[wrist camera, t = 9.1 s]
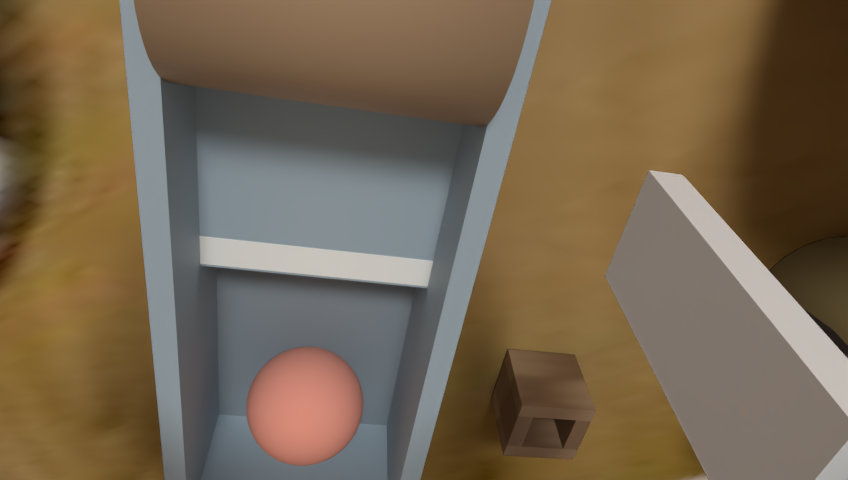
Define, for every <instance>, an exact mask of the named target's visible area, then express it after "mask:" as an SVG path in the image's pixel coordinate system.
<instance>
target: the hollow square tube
mask: <svg viewBox="0 0 848 480" xmlns="http://www.w3.org/2000/svg"><path fill="white" fill-rule="evenodd" d="M492 402H493V407H494V412H495V417H496V422H497V427H498V432H499V437H500V441H501V446H502V451H503V455H506V456H522V457H539V458H556V459H573V458H574V456H575V454H576V451H577V449H578V447H579V445H580V443H581V441H582V439H583V437H584V435H585V433H586V431H587V429H588V426H589V424H590V422H591V420H592V418H593V416H594V414H595V412H596V410H595V407H594V404H593V402H592V399H591V396H590V394H589V391H588V389H587V386H586V383H585V381H584V378H583V375H582V373H581V370H580V368H579V365H578V362H577V360H576V357H575V355H571V354H560V353H548V352H537V351H525V350H514V349H508V350H507V353H506V356H505V359H504V362H503V365H502V368H501V371H500V374H499V377H498V380H497V383H496V386H495V389H494V392H493V395H492Z"/></svg>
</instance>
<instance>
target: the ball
mask: <svg viewBox="0 0 848 480" xmlns="http://www.w3.org/2000/svg"><path fill="white" fill-rule="evenodd" d="M246 413H247V421H248V425H249V428H250V431H251V433H252V435H253V437H254V439H255V441H256V442H257V444H258V445H259V446H260V447H261V448H262V449H263V450H264V451H265V452H266V453H267V454H268V455H270V456H271V457H273V458H275V459H276V460H278V461H281V462H283V463H286V464H290V465H297V466H306V465H313V464H317V463H321V462H323V461H326V460H328V459H330V458H332V457H334V456H335V455H336V454H338V453H339V452H340V451H342V450H343V449H344V448H345V447H346V446H347V444H348V443H349V442H350V441H351V440H352V438H353V437H354V435H355V433H356V431H357V429H358V427H359V425H360V421H361V418H362V414H363V393H362V389H361V385H360V382H359V380H358V377H357V376H356V374H355V372H354V371H353V369H352V368H351V367H350V365H349V364H348V363H347V362H346V361H345V360H343V359H342V358H341V357H340V356H338V355H337V354H335V353H333V352H331V351H328V350H326V349H322V348H318V347H298V348H293V349H289V350H286V351H284V352H282V353H280V354H278V355H277V356H275V357H273V358H272V359H271V360H269V361H268V362H267V363H266V364H265V365H264V366H263V367H262V368H261V369H260V371H259V372H258V374H257V375H256V377H255V378H254V380H253V382H252V384H251V387H250V390H249V393H248V397H247V404H246Z"/></svg>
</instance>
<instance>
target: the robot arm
mask: <svg viewBox="0 0 848 480" xmlns="http://www.w3.org/2000/svg"><path fill="white" fill-rule="evenodd" d="M605 277H606V279H607V281H608V283H609V285H610V287H611V289H612V291H613V293H614V295H615V297H616V299H617V301H618V303H619V305H620V307H621V309H622V311H623V313H624V315H625V317H626V319H627V321H628V323H629V324H630V326H631V328H632V330H633V332H634V334H635V336H636V338H637V340H638V342H639V344H640V346H641V348H642V350H643V352H644V354H645V356H646V358H647V360H648V362H649V364H650V366H651V368H652V370H653V372H654V374H655V376H656V378H657V380H658V382H659V383H660V385H661V387H662V389H663V391H664V393H665V395H666V397H667V399H668V401H669V403H670V405H671V407H672V409H673V411H674V413H675V415H676V417H677V419H678V421H679V423H680V425H681V427H682V429H683V431H684V433H685V435H686V437H687V439H688V440H689V442H690V444H691V446H692V448H693V450H694V452H695V454H696V456H697V458H698V460H699V462H700V464H701V466H702V468H703V470H704V472H705V474H706V476H707V478H708V480H848V345H847V344H846V343H845V342H844V341H843V340H842V339H841V338H840V337H839V335H838V334H837V333H836V332H835V331H834V330H833V329H831V328H830V327H828V326H827V325H826V324H824V323H823V322H822V321H820V320H819V319H817V318H816V317H815V316H813V315H812V314H811V313H809V312H808V311H806V310H805V309H803V308H802V307H801V306H800V305H799V304H798V303H797V301H796V300H795V299H794V298H793V297H792V296H791V295H790V294H789V293H788V291H787V290H786V289H785V288H784V287H783V286H782V285H781V284H780V283H779V281H778V280H777V279H776V278H775V277H774V276H773V275H772V274H771V273H770V271H769V270H768V269H767V268H766V267H765V266H764V265H763V264H762V263H761V261H760V260H759V259H758V258H757V257H756V256H755V255H754V254H753V253H752V251H751V250H750V249H749V248H748V247H747V246H746V245H745V244H744V242H743V241H742V240H741V239H740V238H739V237H738V236H737V235H736V234H735V232H734V231H733V230H732V229H731V228H730V227H729V226H728V225H727V224H726V222H725V221H724V220H723V219H722V218H721V217H720V216H719V215H718V214H717V212H716V211H715V210H714V209H713V208H712V207H711V206H710V205H709V204H708V202H707V201H706V200H705V199H704V198H703V197H702V196H701V195H700V194H699V192H698V191H697V190H696V189H695V188H694V187H693V186H692V185H691V183H690V182H689V181H688V180H687V179H686V178H685V177H684V176H683V175H680V174H672V173H665V172H658V171H651V170H649V171H648V173H647V176H646V178H645V180H644V183H643V185H642V188H641V190H640V192H639V195H638V197H637V200H636V202H635V204H634V207H633V209H632V212H631V214H630V217H629V219H628V221H627V224H626V226H625V229H624V231H623V233H622V236H621V238H620V241H619V243H618V245H617V248H616V250H615V253H614V255H613V257H612V260H611V262H610V265H609V267H608V269H607V272H606V274H605Z"/></svg>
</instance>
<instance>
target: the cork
mask: <svg viewBox="0 0 848 480" xmlns="http://www.w3.org/2000/svg"><path fill="white" fill-rule="evenodd" d="M769 271H770V273H771V274H772V275H773V276H774V277H775V278H776V279H777V280H778V281H779V283H780V284H781V285H782V286H783V287H784V288H785V289H786V290H787V291H788V293H789V294H790V295H791V296H792V297H793V298H794V299H795V300H796V301H797V303H798V304H799V305H800V306H801V307H802V308H803V309H805V310H806V311H808V312H809V313H811V314H812V315H813V316H815V317H816V318H817V319H819V320H820V321H822V322H823V323H824V324H826V325H827V326H828V327H830V328H831V329H833V330H834V331H835V332H836V333H837V334H838V335H839V337H840V338H841V339H842V340H843V341H844V342H845V343H846V344H847V345H848V237H836V238H826V239H823V240H820V241H817V242H814V243H811V244H808V245H805V246H803V247H801V248H799V249H798V250H796V251H794V252H792V253H791V254H789V255H787V256H786V257H784V258H783V259H782V260H780V261H779V262H778V263H777V264H776V265H775V266H774V267H773V268H772V269H770V270H769Z"/></svg>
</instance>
